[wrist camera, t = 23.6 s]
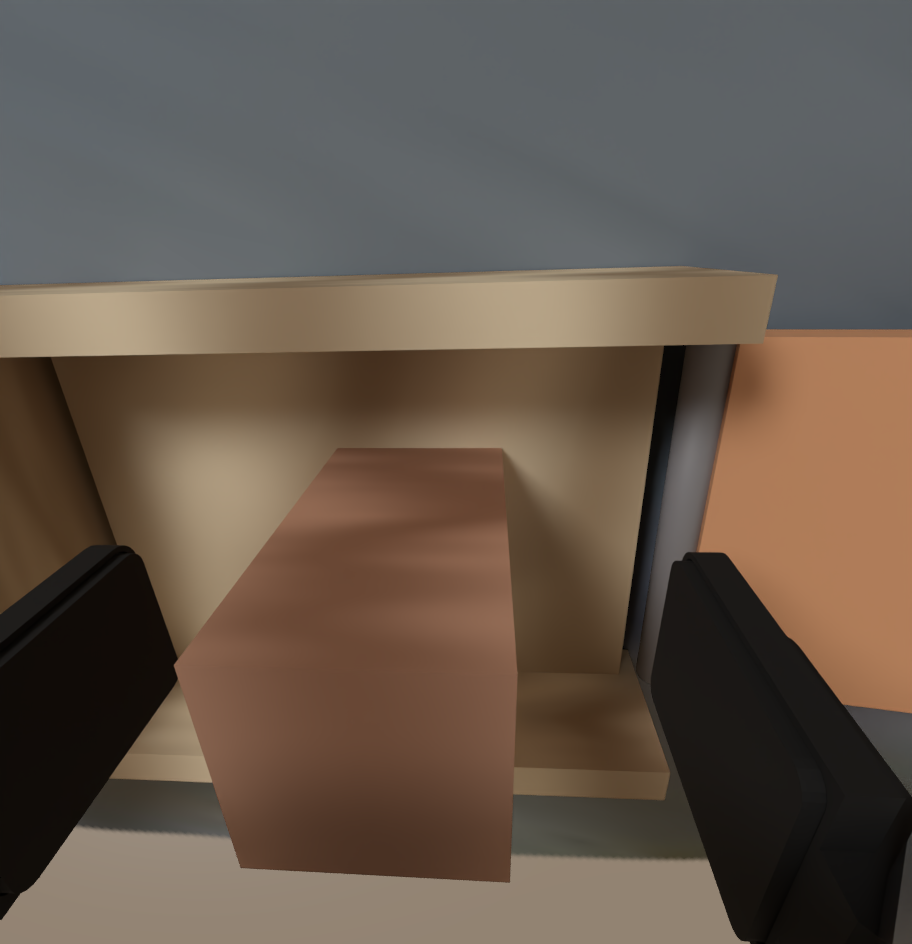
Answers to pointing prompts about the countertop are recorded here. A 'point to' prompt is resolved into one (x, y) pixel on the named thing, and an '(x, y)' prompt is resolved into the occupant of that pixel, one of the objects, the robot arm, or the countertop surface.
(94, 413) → the truck bed
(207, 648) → the block
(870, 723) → the countertop surface
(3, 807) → the robot arm
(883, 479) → the panel
